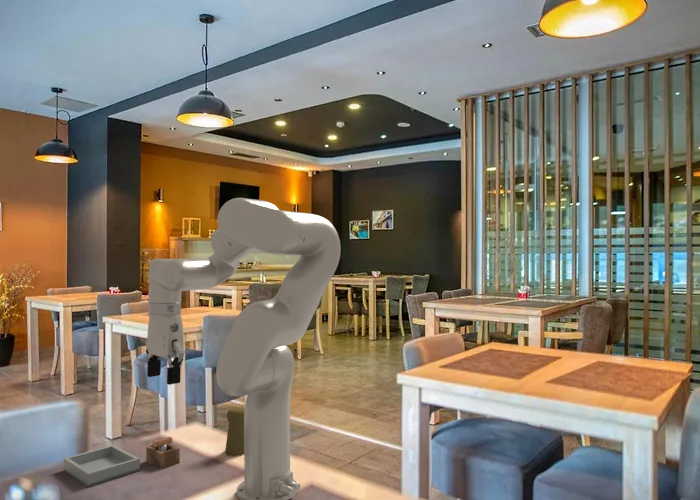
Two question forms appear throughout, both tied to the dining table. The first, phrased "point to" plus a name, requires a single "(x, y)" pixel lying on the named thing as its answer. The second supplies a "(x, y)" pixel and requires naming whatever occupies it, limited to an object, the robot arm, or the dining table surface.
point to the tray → (101, 465)
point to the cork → (235, 431)
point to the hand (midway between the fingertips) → (163, 379)
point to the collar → (163, 456)
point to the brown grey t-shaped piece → (162, 443)
